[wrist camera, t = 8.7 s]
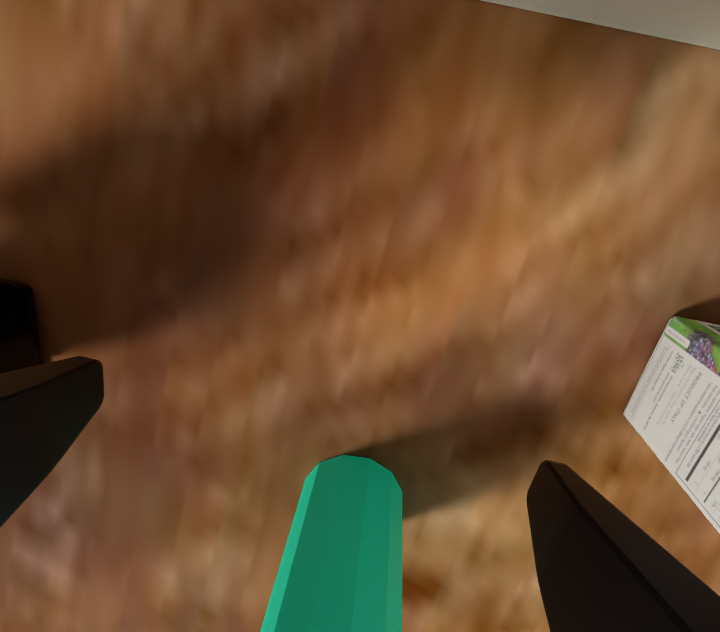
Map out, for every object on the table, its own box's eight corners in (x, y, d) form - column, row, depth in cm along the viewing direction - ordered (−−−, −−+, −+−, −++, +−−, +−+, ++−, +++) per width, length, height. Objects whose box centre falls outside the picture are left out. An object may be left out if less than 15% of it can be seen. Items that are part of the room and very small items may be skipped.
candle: (357, 437, 24) (317, 691, 13) (423, 504, 25) (439, 787, 14) (283, 485, 26) (191, 744, 14) (348, 545, 27) (309, 824, 16)
